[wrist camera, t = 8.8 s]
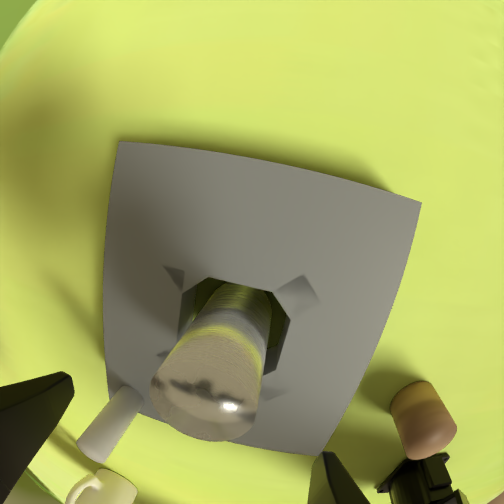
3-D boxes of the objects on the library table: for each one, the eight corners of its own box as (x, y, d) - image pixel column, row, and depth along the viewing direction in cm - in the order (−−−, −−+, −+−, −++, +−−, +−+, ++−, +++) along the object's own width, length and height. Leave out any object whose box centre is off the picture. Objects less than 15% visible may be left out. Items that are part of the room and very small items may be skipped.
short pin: (419, 417, 18) (437, 457, 13) (381, 417, 18) (395, 461, 14) (441, 381, 17) (466, 420, 12) (403, 379, 18) (425, 423, 13)
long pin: (264, 345, 18) (244, 450, 9) (205, 330, 18) (149, 422, 10) (278, 289, 17) (268, 380, 8) (214, 274, 18) (150, 347, 9)
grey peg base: (316, 429, 19) (321, 522, 10) (126, 379, 20) (69, 449, 12) (400, 200, 15) (495, 213, 6) (144, 147, 16) (40, 124, 8)
